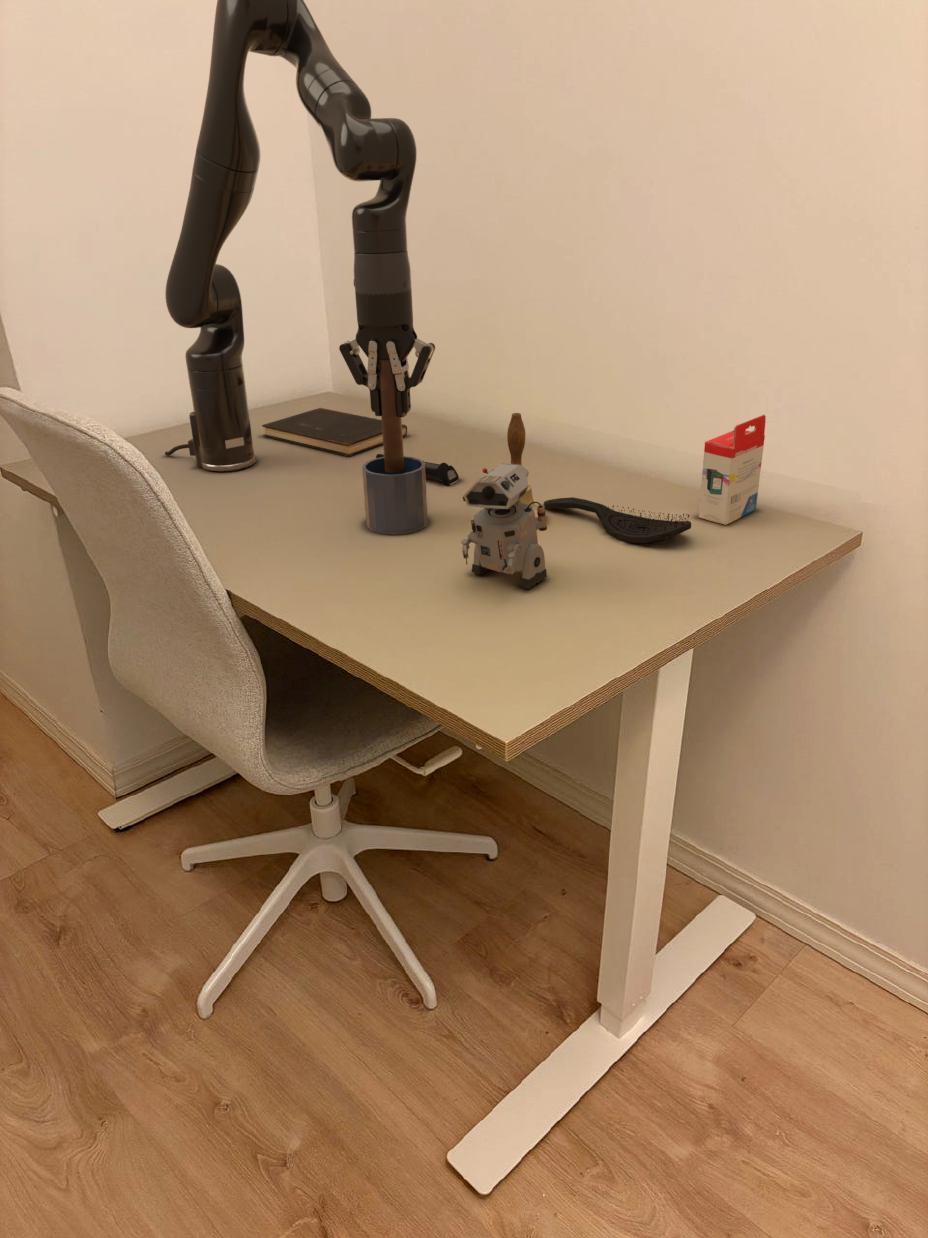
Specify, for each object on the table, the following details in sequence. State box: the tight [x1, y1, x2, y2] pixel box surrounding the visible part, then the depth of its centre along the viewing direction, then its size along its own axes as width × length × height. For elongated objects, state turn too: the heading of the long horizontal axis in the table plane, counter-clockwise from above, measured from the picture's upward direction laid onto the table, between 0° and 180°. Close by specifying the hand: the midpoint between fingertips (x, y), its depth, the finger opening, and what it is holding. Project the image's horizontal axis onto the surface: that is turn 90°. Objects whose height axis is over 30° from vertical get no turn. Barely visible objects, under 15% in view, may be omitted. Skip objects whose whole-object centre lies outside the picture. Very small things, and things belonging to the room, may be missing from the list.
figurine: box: [460, 463, 548, 590], centre depth 121 cm, size 9×12×15 cm
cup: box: [361, 455, 428, 536], centre depth 142 cm, size 9×9×9 cm
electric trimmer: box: [375, 453, 459, 486], centre depth 163 cm, size 4×16×3 cm, turn 58°
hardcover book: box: [261, 407, 408, 458], centre depth 185 cm, size 16×23×2 cm
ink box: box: [698, 414, 767, 526], centre depth 141 cm, size 8×5×15 cm, turn 134°
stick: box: [378, 360, 405, 473], centre depth 137 cm, size 3×3×16 cm
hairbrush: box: [543, 496, 692, 544], centre depth 141 cm, size 8×4×25 cm
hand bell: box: [506, 412, 538, 517], centre depth 140 cm, size 8×8×16 cm
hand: (391, 414), depth 137 cm, fingers closed on stick, 2 cm apart
